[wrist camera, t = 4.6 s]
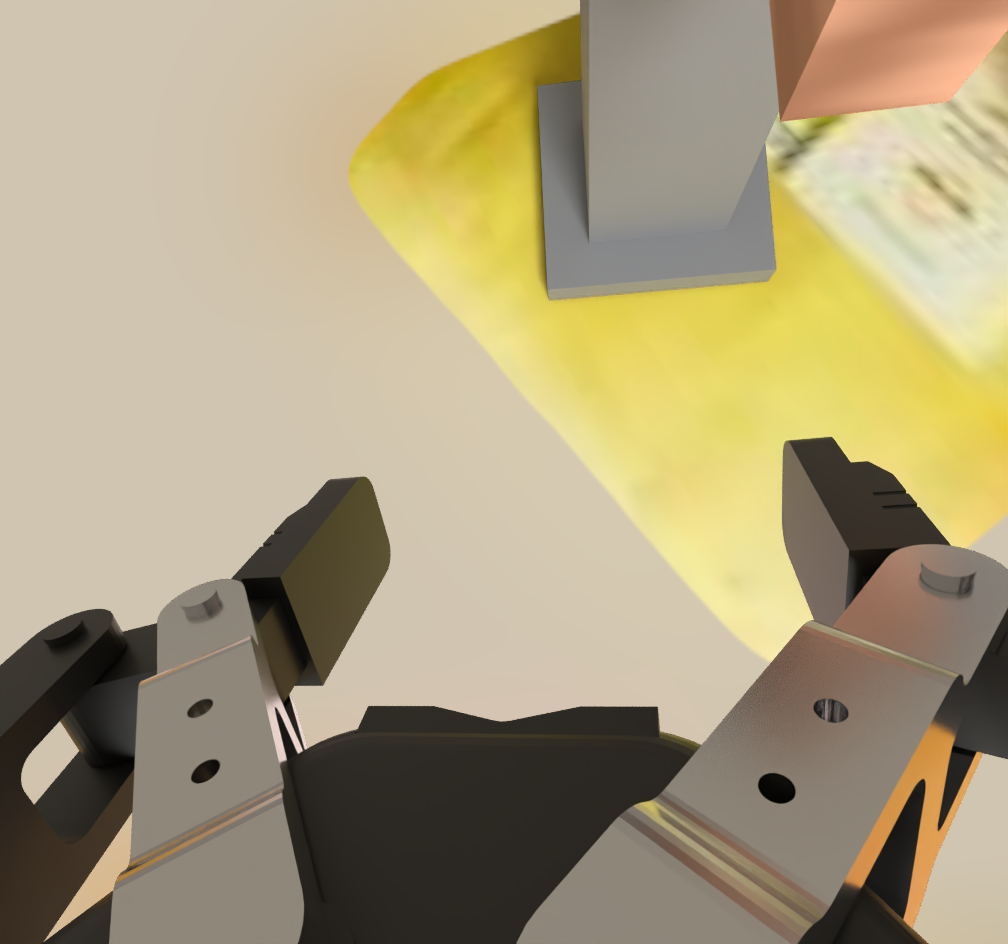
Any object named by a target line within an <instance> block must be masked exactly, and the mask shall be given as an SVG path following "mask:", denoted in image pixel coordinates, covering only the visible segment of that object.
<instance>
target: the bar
mask: <svg viewBox="0 0 1008 944" xmlns="http://www.w3.org/2000/svg"><path fill="white" fill-rule="evenodd" d="M769 4H770V15H771V26H772V37H773V48H774V59H775V70H776V81H777V92H778V104H779V115H780V122H781V121H789V120H798V119H806V118H815V117H823V116H832V115H840V114H849V113H857V112H866V111H874V110H882V109H891V108H899V107H908V106H916V105H925V104H933V103H942V102H948V101H949V100H950V99H951V98H952V97H953V95H954V94H955V93H956V92H957V91H958V89H959V88H960V87H961V86H962V85H963V83H964V82H965V81H966V80H967V79H968V77H969V76H970V75H971V74H972V73H973V71H974V70H975V69H976V68H977V67H978V65H979V64H980V63H981V62H982V61H983V59H984V58H985V57H986V56H987V54H988V53H989V52H990V51H991V50H992V48H993V47H994V46H995V45H996V44H997V42H998V41H999V40H1000V39H1001V38H1002V36H1003V35H1004V34H1005V33H1006V32H1007V30H1008V0H769Z"/></svg>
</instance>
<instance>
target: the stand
mask: <svg viewBox="0 0 1008 944" xmlns="http://www.w3.org/2000/svg"><path fill="white" fill-rule="evenodd" d="M580 8H581V9H580V14H581V74H582V80H579V81H571V82H564V83H556V84H548V85H541V86H537V87H538V107H539V127H540V148H541V168H542V189H543V209H544V229H545V250H546V270H547V290H548V296H549V300H561V299H572V298H584V297H595V296H606V295H618V294H629V293H641V292H652V291H663V290H675V289H686V288H698V287H709V286H720V285H732V284H743V283H755V282H766V281H768V280H769V279H770V278H771V276H772V275H773V273H774V272H775V270H776V260H775V249H774V237H773V226H772V214H771V203H770V192H769V180H768V169H767V157H766V146H765V141H766V139H767V136H768V134H769V132H770V130H771V128H772V125H773V123H774V121H775V119H776V116H777V114H778V112H779V104H778V92H777V81H776V70H775V59H774V48H773V37H772V26H771V15H770V4H769V0H580Z"/></svg>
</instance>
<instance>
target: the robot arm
mask: <svg viewBox="0 0 1008 944" xmlns="http://www.w3.org/2000/svg"><path fill="white" fill-rule="evenodd" d="M782 527H783V536H784V542H785V546H786V550H787V553H788V555H789V558H790V560H791V563H792V565H793V568H794V570H795V573H796V575H797V578H798V580H799V583H800V585H801V588H802V590H803V593H804V596H805V598H806V601H807V603H808V606H809V608H810V611H811V613H812V616H813V618H814V620H811V621H808V622H807V623H805V624H804V625H803V626H802V627H801V628H800V629H799V630H798V631H797V633H796V634H795V635H794V636H793V637H792V639H791V640H790V641H789V642H788V643H787V644H786V646H785V647H784V648H783V649H782V650H781V652H780V653H779V654H778V655H777V656H776V658H775V659H774V660H773V661H772V662H771V663H770V665H769V666H768V667H767V668H766V669H765V671H764V672H763V673H762V674H761V675H760V677H759V678H758V679H757V680H756V681H755V683H754V684H753V685H752V686H751V687H750V688H749V690H748V691H747V692H746V693H745V694H744V696H743V697H742V698H741V699H740V701H739V702H738V703H737V704H736V705H735V706H734V707H733V709H732V710H731V711H730V712H729V713H728V715H727V716H726V717H725V718H724V719H723V721H722V722H721V723H720V724H719V725H718V727H717V728H716V729H715V730H714V731H713V733H712V734H711V735H710V736H709V737H708V738H707V740H706V741H705V742H704V743H703V744H702V745H700V744H698V743H696V742H694V741H691V740H688V739H685V738H682V737H679V736H676V735H672V734H668V733H664V732H661V731H660V726H659V715H658V707H576V708H571V709H566V710H561V711H557V712H551V713H546V714H542V715H537V716H532V717H527V718H522V719H517V720H512V721H505V722H499V721H493V720H489V719H485V718H481V717H477V716H473V715H468V714H464V713H459V712H456V711H452V710H448V709H443V708H439V707H435V706H368V708H367V710H366V712H365V714H364V717H363V719H362V721H361V723H360V725H359V728H358V729H357V730H353V731H349V732H346V733H343V734H339V735H336V736H333V737H331V738H329V739H326V740H324V741H321V742H319V743H317V744H315V745H313V746H311V747H309V748H307V745H306V741H305V738H304V734H303V731H302V727H301V724H300V720H299V717H298V714H297V710H296V707H295V705H294V702H293V700H292V698H291V695H290V692H291V691H292V689H293V687H294V686H323V685H324V683H325V681H326V679H327V677H328V676H329V674H330V672H331V670H332V669H333V667H334V665H335V663H336V661H337V660H338V658H339V656H340V654H341V652H342V651H343V649H344V647H345V645H346V643H347V642H348V640H349V638H350V636H351V635H352V633H353V631H354V629H355V627H356V626H357V624H358V622H359V620H360V619H361V616H362V615H363V613H364V611H365V610H366V608H367V606H368V604H369V602H370V601H371V599H372V597H373V595H374V594H375V592H376V590H377V588H378V586H379V585H380V583H381V581H382V579H383V577H384V576H385V574H386V572H387V570H388V567H389V563H390V544H389V539H388V536H387V533H386V530H385V526H384V523H383V519H382V516H381V513H380V509H379V506H378V502H377V499H376V496H375V492H374V489H373V486H372V484H371V482H370V481H369V479H367V478H366V477H353V478H341V479H331V480H328V481H327V482H326V483H325V485H324V486H323V487H322V488H321V489H320V490H319V491H318V493H317V494H316V495H315V496H314V497H313V498H312V499H311V500H310V501H309V503H308V504H307V505H306V506H304V507H302V508H301V509H299V510H298V511H296V512H295V513H293V514H292V515H290V516H289V517H287V518H286V519H285V521H284V522H283V523H282V524H281V525H280V526H279V527H278V528H277V529H276V530H275V531H274V535H271V536H270V537H269V538H268V539H267V540H266V541H265V542H264V543H263V547H260V548H259V549H258V550H257V551H256V552H255V553H254V554H253V556H252V557H251V558H250V559H249V560H248V561H247V562H246V563H245V564H244V566H242V568H241V569H240V570H239V571H238V572H237V573H236V574H235V575H234V576H233V578H232V579H220V580H215V581H211V582H207V583H204V584H201V585H199V586H196V587H194V588H191V589H190V590H188V591H186V592H184V593H182V594H181V595H179V596H178V597H176V598H175V599H173V600H172V601H171V602H170V603H169V604H168V605H166V607H165V608H164V609H163V610H162V611H161V613H160V615H159V617H158V621H157V623H156V624H152V625H149V626H144V627H140V628H136V629H132V630H128V631H124V632H122V631H121V629H120V627H119V625H118V624H117V622H116V620H115V618H114V616H113V614H112V613H111V612H110V611H108V610H105V609H93V610H87V611H83V612H80V613H76V614H73V615H71V616H68V617H66V618H63V619H61V620H59V621H57V622H55V623H54V624H51V625H50V626H48V627H46V628H45V629H43V630H42V631H40V632H39V633H37V634H36V635H35V636H34V637H32V638H31V639H30V640H29V641H28V642H27V643H25V644H24V645H23V646H22V647H21V648H20V649H19V650H17V651H16V652H15V653H14V654H13V655H12V656H11V657H9V658H8V659H7V660H6V661H5V662H4V663H3V664H1V665H0V944H928V943H927V942H926V941H925V940H924V939H923V938H922V937H921V936H920V935H919V934H917V932H915V931H914V930H913V929H912V928H913V925H914V923H915V920H916V917H917V915H918V912H919V909H920V906H921V904H922V901H923V897H924V894H925V891H926V888H927V884H928V881H929V877H930V874H931V871H932V868H933V865H934V862H935V860H936V857H937V855H938V852H939V850H940V848H941V845H942V843H943V841H944V839H945V837H946V834H947V832H948V830H949V827H950V826H951V823H952V821H953V819H954V817H955V815H956V812H957V810H958V808H959V806H960V804H961V801H962V799H963V797H964V795H965V792H966V790H967V788H968V786H969V784H970V781H971V779H972V777H973V775H974V773H975V770H976V768H977V766H978V764H979V762H980V759H981V757H982V754H983V753H985V754H989V755H993V756H997V757H1001V758H1005V759H1008V569H1007V568H1005V567H1004V566H1003V565H1002V564H1000V563H999V562H997V561H995V560H993V559H992V558H990V557H987V556H986V555H983V554H980V553H978V552H975V551H972V550H968V549H965V548H960V547H955V546H951V545H950V544H949V542H948V541H947V540H946V539H945V538H944V536H943V535H942V534H941V533H940V531H939V530H938V529H937V528H936V526H935V525H934V524H933V523H932V522H931V520H930V519H929V518H928V517H927V515H926V514H925V513H924V512H923V511H922V509H921V508H920V507H917V503H916V502H915V501H914V500H913V498H912V497H911V496H910V495H909V494H906V490H905V489H904V487H903V486H902V485H901V484H900V482H899V481H898V480H897V479H896V477H895V476H894V475H893V474H892V473H890V472H888V471H886V470H884V469H882V468H880V467H878V466H876V465H874V464H872V463H870V462H868V461H865V462H852V463H851V462H850V461H849V460H848V458H847V457H846V455H845V454H844V453H843V451H842V450H841V448H840V447H839V446H838V444H837V443H836V441H835V440H834V439H833V438H832V437H824V438H813V439H801V440H790V441H786V442H785V444H784V448H783V482H782ZM59 721H60V722H61V723H62V725H63V726H64V728H65V729H66V731H67V732H68V734H69V736H70V737H71V739H72V740H73V742H74V743H75V745H76V746H77V748H78V749H79V752H78V753H77V755H76V756H75V757H74V758H73V759H72V760H71V762H70V763H69V764H68V765H67V766H66V768H65V769H64V770H63V771H62V772H61V774H60V775H59V776H58V777H57V778H56V779H55V781H54V782H53V783H52V784H51V785H50V787H49V788H48V789H47V790H46V791H45V793H44V794H43V795H42V796H41V797H40V799H39V800H38V801H37V802H36V803H35V804H33V803H32V801H31V800H30V799H29V797H28V796H27V795H26V793H25V792H24V790H23V788H22V785H21V773H22V768H23V765H24V763H25V761H26V759H27V757H28V756H29V754H30V753H31V752H32V750H33V749H34V748H35V747H36V746H37V745H38V744H39V743H40V742H41V741H42V740H43V739H44V737H45V736H46V735H47V734H48V733H49V732H50V731H51V730H52V729H53V728H54V727H55V726H56V725H57V723H58V722H59ZM132 811H133V812H132ZM131 813H132V834H131V835H132V836H131V855H130V862H129V865H128V868H127V869H126V870H125V871H123V872H122V873H120V875H119V876H118V877H117V880H116V882H115V886H114V890H113V891H112V892H110V893H109V894H108V895H106V896H105V897H104V898H102V899H101V900H100V901H98V902H97V903H96V904H94V905H93V906H92V907H90V908H89V909H88V910H86V911H85V912H84V913H82V914H81V915H80V916H78V917H77V918H75V919H74V920H73V921H71V922H70V923H69V924H68V925H66V926H65V927H63V928H62V929H61V930H59V931H58V932H57V933H55V934H54V935H53V936H52V937H50V938H49V939H47V940H46V941H45V942H44V940H45V939H46V937H47V936H48V934H49V933H50V932H51V930H52V929H53V927H54V926H55V924H56V923H57V921H58V920H59V918H60V917H61V915H62V914H63V912H64V911H65V910H66V908H67V907H68V905H69V904H70V902H71V901H72V899H73V898H74V896H75V895H76V893H77V892H78V890H79V889H80V887H81V886H82V884H83V883H84V882H85V880H86V879H87V877H88V876H89V874H90V873H91V872H92V870H93V869H94V867H95V866H96V864H97V863H98V861H99V859H100V858H101V857H102V855H103V854H104V852H105V851H106V849H107V848H108V846H109V845H110V844H111V842H112V841H113V839H114V838H115V836H116V835H117V833H118V832H119V831H120V829H121V828H122V826H123V825H124V823H125V822H126V820H127V819H128V817H129V816H130V814H131Z"/></svg>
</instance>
